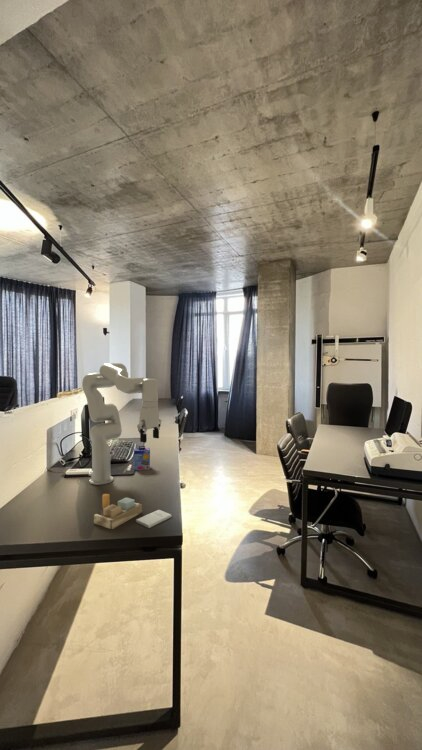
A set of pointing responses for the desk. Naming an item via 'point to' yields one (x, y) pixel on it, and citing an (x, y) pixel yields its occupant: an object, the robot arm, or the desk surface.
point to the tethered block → (119, 502)
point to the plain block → (112, 511)
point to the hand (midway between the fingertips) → (149, 440)
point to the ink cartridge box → (141, 458)
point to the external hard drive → (153, 518)
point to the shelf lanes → (118, 517)
